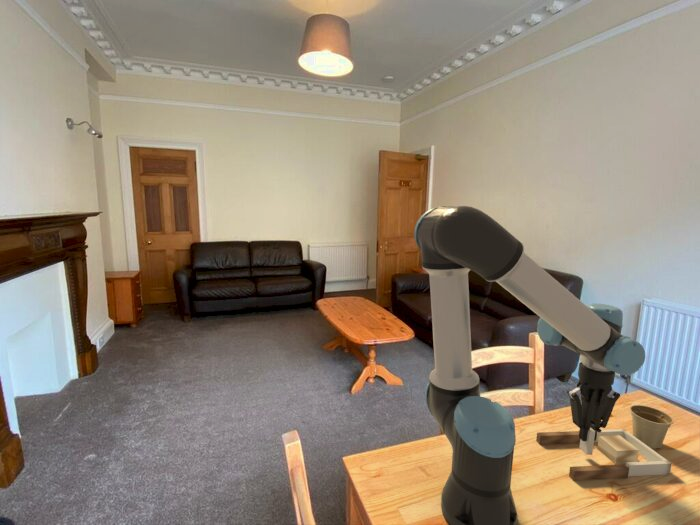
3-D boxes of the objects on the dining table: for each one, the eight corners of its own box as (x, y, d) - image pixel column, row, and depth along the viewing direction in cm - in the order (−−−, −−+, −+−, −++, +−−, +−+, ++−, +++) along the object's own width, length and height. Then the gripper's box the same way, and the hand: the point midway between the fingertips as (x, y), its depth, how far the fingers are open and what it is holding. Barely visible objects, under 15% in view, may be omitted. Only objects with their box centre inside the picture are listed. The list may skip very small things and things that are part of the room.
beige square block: (615, 465, 92) (617, 450, 91) (597, 449, 97) (598, 436, 97) (636, 464, 92) (639, 449, 92) (617, 448, 98) (619, 435, 97)
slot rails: (573, 480, 86) (574, 471, 85) (536, 440, 101) (537, 432, 100) (627, 478, 87) (629, 468, 87) (583, 438, 102) (584, 430, 101)
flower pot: (677, 456, 95) (682, 426, 94) (637, 450, 97) (641, 421, 96) (655, 434, 104) (659, 407, 103) (619, 430, 106) (622, 403, 105)
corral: (628, 476, 87) (629, 465, 87) (586, 439, 101) (587, 430, 101) (669, 474, 88) (671, 463, 88) (622, 438, 102) (624, 428, 102)
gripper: (583, 372, 86) (571, 461, 89) (634, 372, 87) (620, 460, 90) (562, 359, 93) (552, 442, 97) (609, 359, 94) (598, 441, 98)
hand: (585, 451), depth 94 cm, fingers closed
